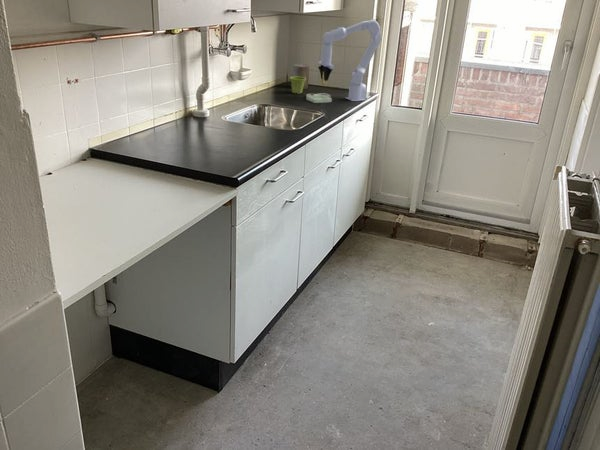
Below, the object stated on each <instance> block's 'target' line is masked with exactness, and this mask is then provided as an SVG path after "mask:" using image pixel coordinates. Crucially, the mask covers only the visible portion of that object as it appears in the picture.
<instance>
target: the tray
mask: <svg viewBox="0 0 600 450" xmlns="http://www.w3.org/2000/svg"><path fill="white" fill-rule="evenodd" d="M316 95H317V94H316ZM305 100H306V101H308V102H309V103H310V102H311V103H313V104H325V103H328V104H329V103H332V101H333V98H329V97H327V96H324V95H317V96H306V98H305Z"/></svg>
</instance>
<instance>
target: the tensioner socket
mask: <svg viewBox="0 0 600 450" xmlns="http://www.w3.org/2000/svg"><path fill="white" fill-rule="evenodd" d="M316 95H324V96H327V97H329V98H331V97H332V95H331V94H328V93H327V92H326V93H325V92H323V93H322V92H321V93H316ZM331 99H332V98H331Z"/></svg>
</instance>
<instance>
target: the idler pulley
mask: <svg viewBox="0 0 600 450" xmlns="http://www.w3.org/2000/svg"><path fill="white" fill-rule="evenodd" d="M305 95H306V96H317V93H306V94H305Z"/></svg>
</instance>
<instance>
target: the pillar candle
mask: <svg viewBox="0 0 600 450" xmlns="http://www.w3.org/2000/svg"><path fill="white" fill-rule="evenodd" d="M292 75H293V76H292V77H294V76H298V77H304V78H306V80H305V82H304V86H303V90H307V89H309V77H310V65H309V64H306V63H295V64H293V72H292Z"/></svg>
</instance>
